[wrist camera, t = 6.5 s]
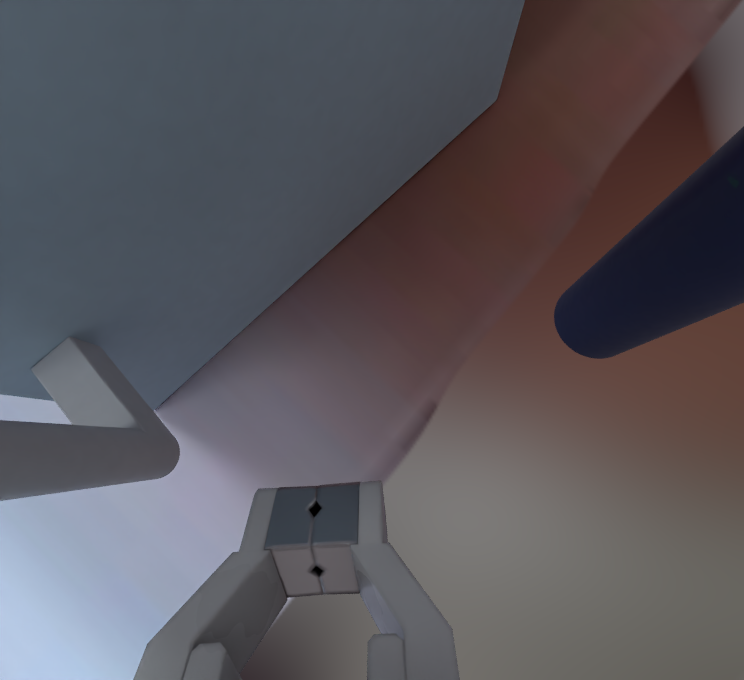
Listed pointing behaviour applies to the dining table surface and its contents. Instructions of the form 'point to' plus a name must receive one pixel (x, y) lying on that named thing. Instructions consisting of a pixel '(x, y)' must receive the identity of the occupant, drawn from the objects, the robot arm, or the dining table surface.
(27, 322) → the cupboard door
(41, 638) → the dining table surface
